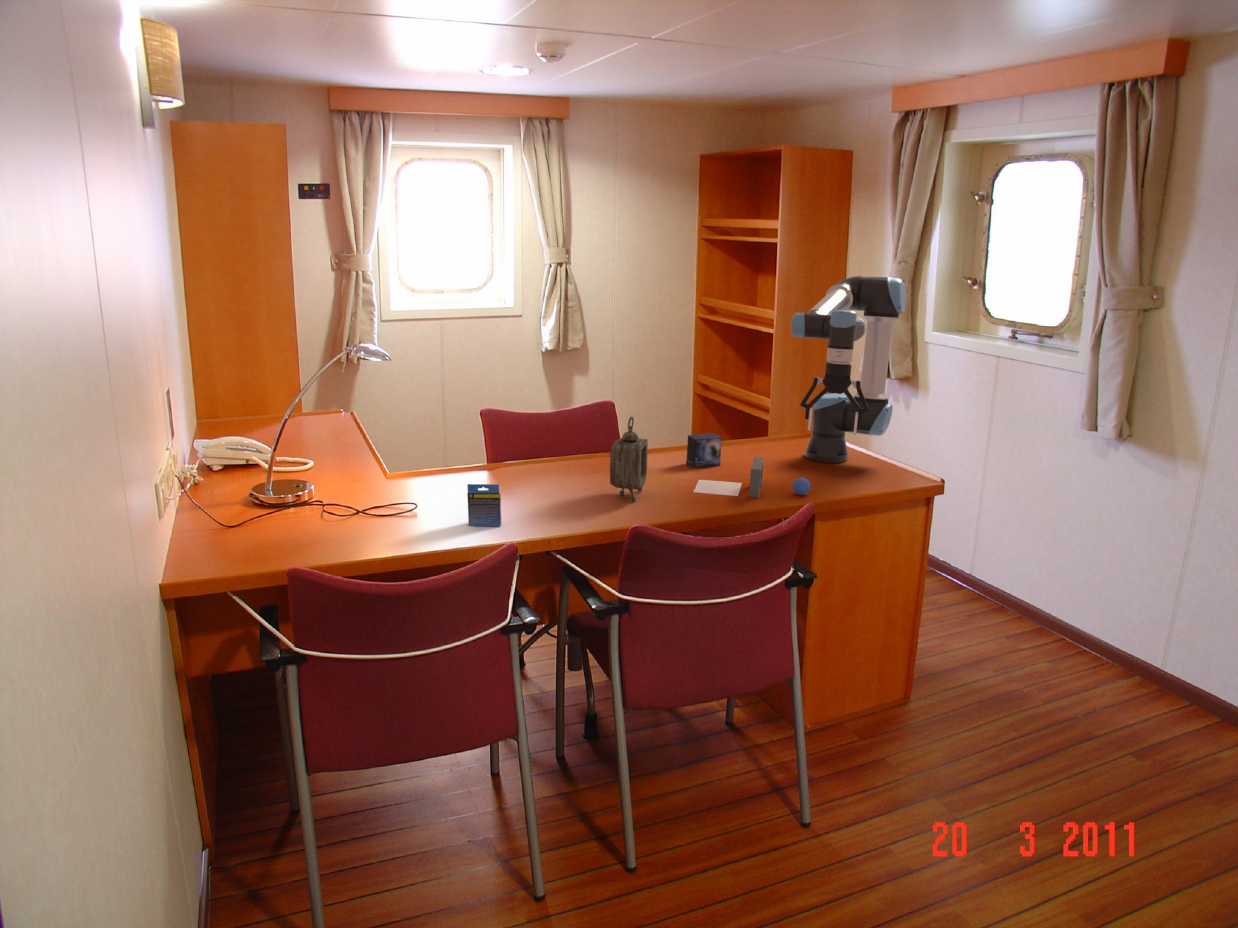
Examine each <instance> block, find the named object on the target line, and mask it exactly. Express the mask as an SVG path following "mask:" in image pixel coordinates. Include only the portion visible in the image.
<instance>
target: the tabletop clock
mask: <svg viewBox="0 0 1238 928" xmlns="http://www.w3.org/2000/svg"><path fill="white" fill-rule="evenodd" d="M634 424H635V423H634V416H630V417H629V418H628V422H627V430H628V431H626V432H624V433H623V434H622V436H621V438H619V439H616V440H615V441H614V442H613V444H612V445H611V447H610V453H609V454H610V457H609V458H610V459H609V484H610V485H611V486H613V487H615V488H616V489H621V490H620V491H619V492H618V493H619V496H620V497H624V495H625V489H627V490H628V491H629V493H630V495H631V498H630V501H631V502H632V503H635V502H636V501H637V497H635V495H634V491H633V490H637V492H639V493H640V492H642V491H643V486H644V485H645V483H646V480H647V475H648V474H647V472H648V439H647V438H639V435H638V434H637V432H636V431H633V428H634Z"/></svg>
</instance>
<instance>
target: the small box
mask: <svg viewBox="0 0 1238 928" xmlns="http://www.w3.org/2000/svg"><path fill="white" fill-rule="evenodd" d="M722 439H723V437H722V436H720V435H718V434H716V433H715V432H710V433H697V434H688V435H687V446H686V447H687V448H686V449H687V450H686V462H685V464H687V465H688V466H690V467H692V468H693V469H697V468H699V469H700V468H708V467H710V468H711V467H721V459H722V458H721V457H722V455H721V454H722Z"/></svg>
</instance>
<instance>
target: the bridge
mask: <svg viewBox="0 0 1238 928" xmlns="http://www.w3.org/2000/svg"><path fill="white" fill-rule="evenodd" d="M764 459H765V458H764V457H760V456H759V457H758V456H754V458H753V461H752V464H751V468H750V478H749V481H750V482H749V495H748V496H749V497H748V498H750V499H751V498H753V499H760V495H761V487H763V474H764Z"/></svg>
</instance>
